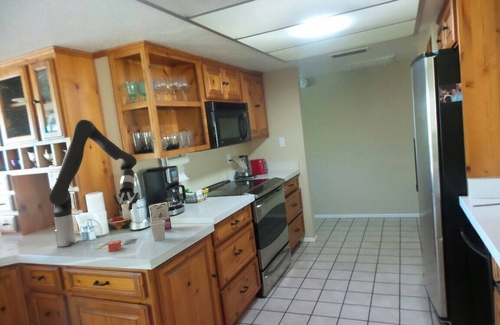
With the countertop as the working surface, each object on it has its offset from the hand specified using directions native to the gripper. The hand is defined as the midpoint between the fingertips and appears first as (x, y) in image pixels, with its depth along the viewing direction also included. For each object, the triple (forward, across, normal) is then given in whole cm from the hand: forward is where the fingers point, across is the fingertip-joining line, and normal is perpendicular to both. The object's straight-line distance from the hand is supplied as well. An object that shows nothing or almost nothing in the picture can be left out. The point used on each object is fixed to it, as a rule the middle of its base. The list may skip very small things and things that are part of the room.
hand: (125, 210), depth 182 cm
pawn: (+2, 0, +4) cm, 5 cm away
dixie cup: (+13, +15, +14) cm, 25 cm away
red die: (+20, -6, +7) cm, 22 cm away
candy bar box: (-2, +14, +29) cm, 33 cm away
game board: (+13, -7, +14) cm, 20 cm away
